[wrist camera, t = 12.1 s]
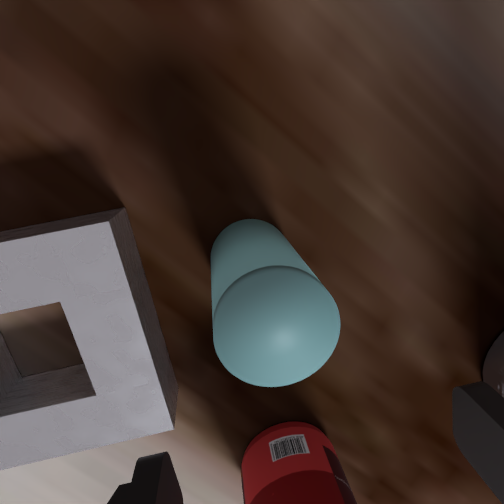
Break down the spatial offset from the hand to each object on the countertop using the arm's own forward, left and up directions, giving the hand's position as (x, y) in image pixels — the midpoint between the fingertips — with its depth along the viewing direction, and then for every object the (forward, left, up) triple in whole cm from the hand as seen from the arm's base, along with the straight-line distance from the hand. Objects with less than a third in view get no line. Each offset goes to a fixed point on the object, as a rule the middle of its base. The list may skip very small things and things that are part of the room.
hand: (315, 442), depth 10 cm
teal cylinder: (0, 0, -16) cm, 16 cm away
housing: (+14, +2, -15) cm, 21 cm away
